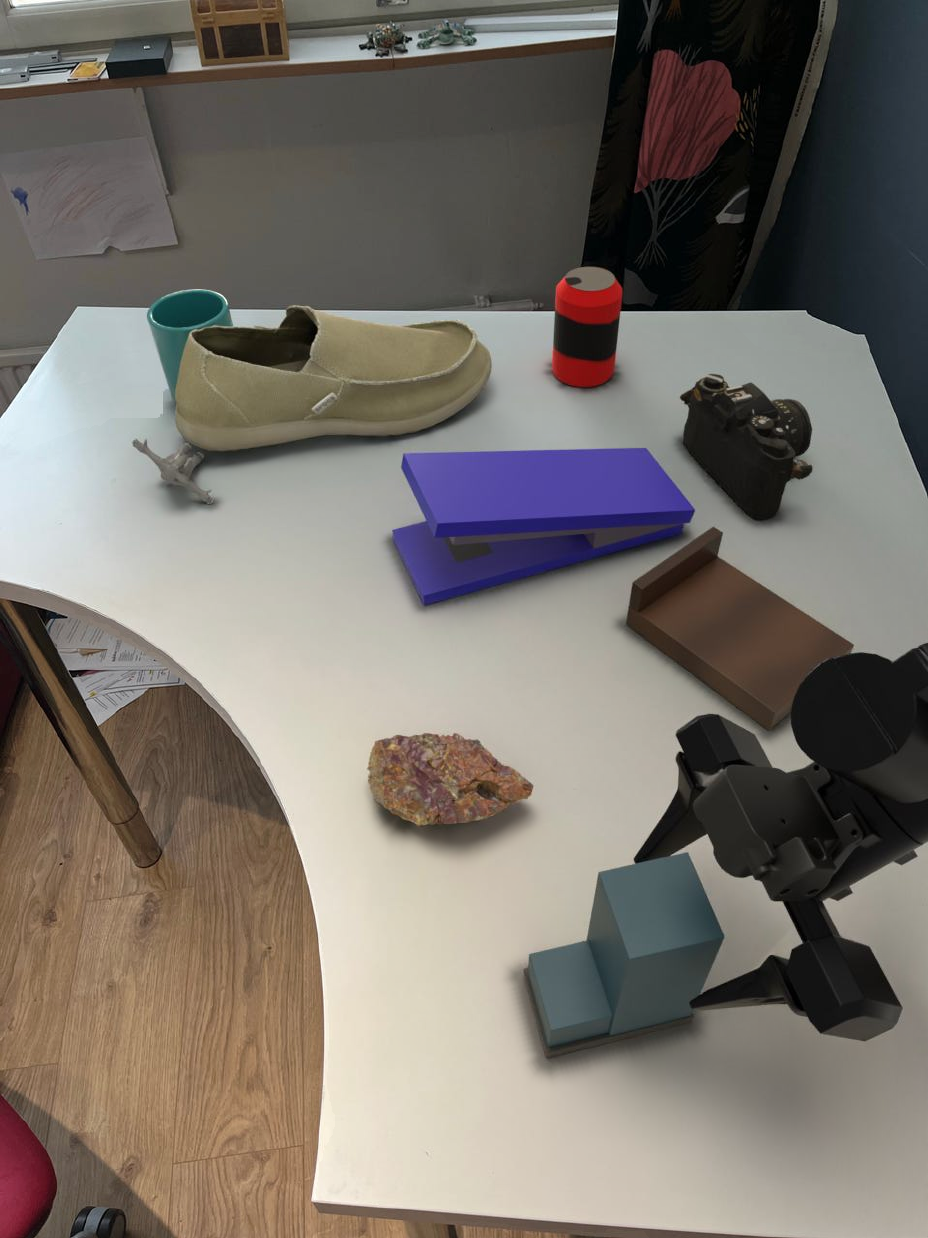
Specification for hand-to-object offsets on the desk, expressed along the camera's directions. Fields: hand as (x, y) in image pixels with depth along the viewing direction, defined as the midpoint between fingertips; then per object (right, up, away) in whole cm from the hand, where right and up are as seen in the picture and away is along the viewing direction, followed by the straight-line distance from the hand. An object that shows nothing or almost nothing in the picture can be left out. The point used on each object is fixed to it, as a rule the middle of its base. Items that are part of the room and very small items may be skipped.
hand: (664, 931), depth 56 cm
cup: (-43, +47, +57) cm, 86 cm away
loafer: (-27, +43, +52) cm, 73 cm away
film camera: (+18, +35, +44) cm, 59 cm away
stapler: (-4, +27, +37) cm, 46 cm away
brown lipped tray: (+12, +17, +27) cm, 34 cm away
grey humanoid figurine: (-43, +33, +44) cm, 70 cm away
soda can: (+2, +49, +58) cm, 76 cm away
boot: (-3, -6, +6) cm, 9 cm away
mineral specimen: (-13, +5, +17) cm, 22 cm away
